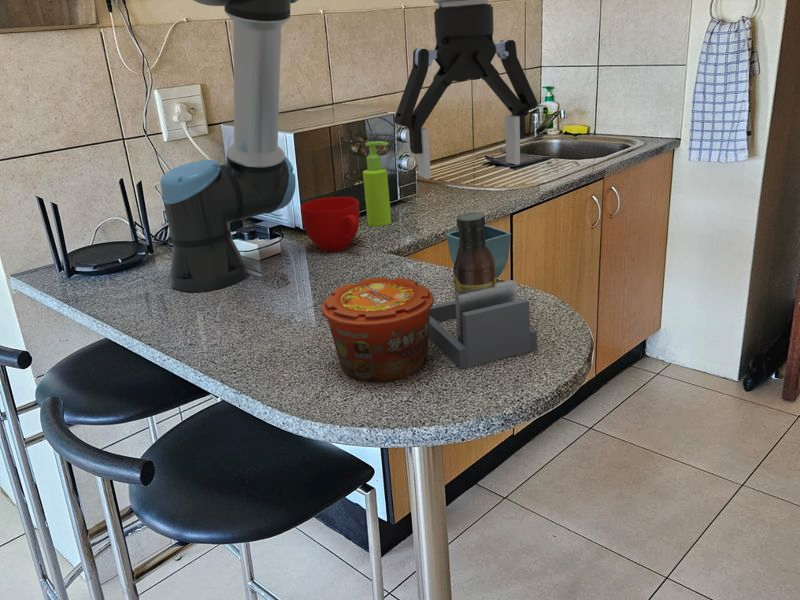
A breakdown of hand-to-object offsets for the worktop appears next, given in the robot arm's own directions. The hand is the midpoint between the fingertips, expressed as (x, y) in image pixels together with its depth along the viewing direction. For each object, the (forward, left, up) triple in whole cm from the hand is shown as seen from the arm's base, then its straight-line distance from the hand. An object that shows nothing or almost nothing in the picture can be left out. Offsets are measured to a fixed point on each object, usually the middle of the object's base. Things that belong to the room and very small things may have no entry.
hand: (469, 170), depth 96 cm
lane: (-2, 0, -26) cm, 26 cm away
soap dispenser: (-72, +10, -27) cm, 77 cm away
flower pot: (-24, +13, -27) cm, 38 cm away
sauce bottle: (0, 0, -27) cm, 27 cm away
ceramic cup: (-58, -5, -27) cm, 64 cm away
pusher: (+4, 0, -26) cm, 27 cm away
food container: (0, -15, -27) cm, 31 cm away
